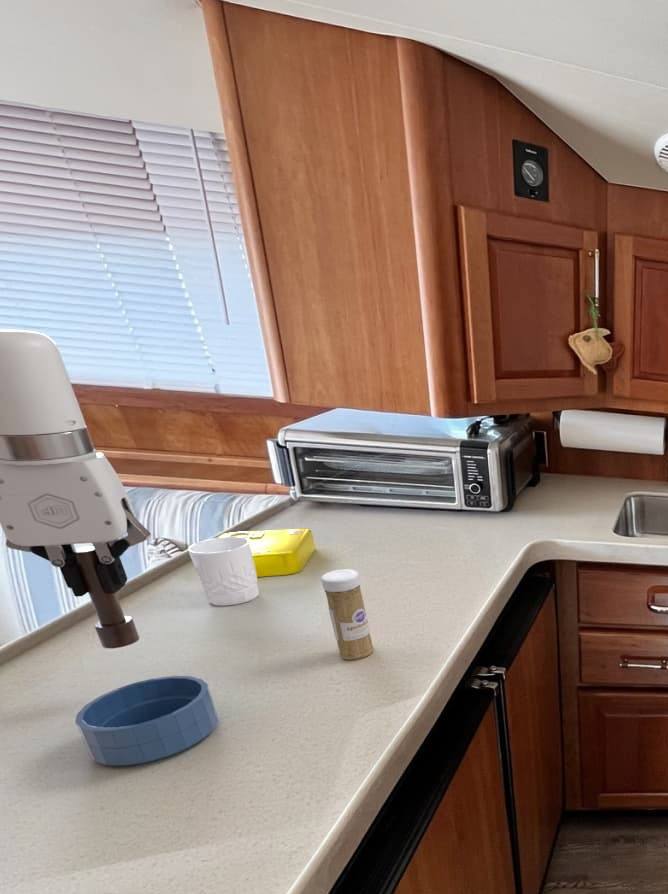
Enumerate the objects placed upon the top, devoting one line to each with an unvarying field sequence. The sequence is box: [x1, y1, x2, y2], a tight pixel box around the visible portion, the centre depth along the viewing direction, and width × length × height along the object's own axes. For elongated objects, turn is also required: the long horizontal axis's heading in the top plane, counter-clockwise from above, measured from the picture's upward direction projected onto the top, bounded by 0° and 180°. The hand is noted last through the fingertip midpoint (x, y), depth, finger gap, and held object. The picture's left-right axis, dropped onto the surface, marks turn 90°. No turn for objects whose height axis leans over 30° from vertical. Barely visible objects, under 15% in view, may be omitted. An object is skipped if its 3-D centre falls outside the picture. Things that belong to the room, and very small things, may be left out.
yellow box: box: [217, 528, 316, 578], centre depth 123 cm, size 15×15×5 cm
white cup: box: [187, 537, 260, 607], centre depth 109 cm, size 8×8×10 cm
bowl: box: [74, 675, 219, 766], centre depth 77 cm, size 11×11×6 cm
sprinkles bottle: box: [321, 568, 375, 661], centre depth 96 cm, size 5×5×13 cm
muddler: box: [72, 545, 140, 649], centre depth 80 cm, size 3×3×13 cm
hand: (100, 589), depth 79 cm, fingers closed on muddler, 2 cm apart
